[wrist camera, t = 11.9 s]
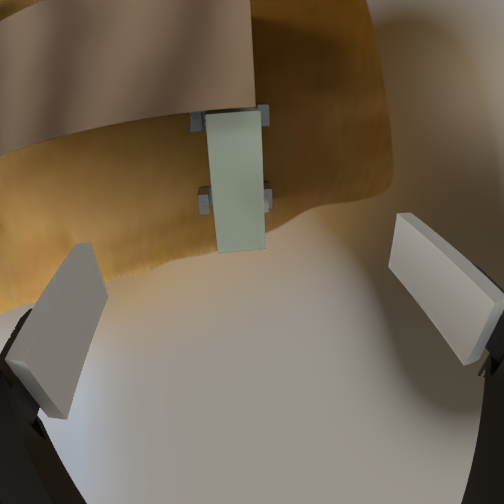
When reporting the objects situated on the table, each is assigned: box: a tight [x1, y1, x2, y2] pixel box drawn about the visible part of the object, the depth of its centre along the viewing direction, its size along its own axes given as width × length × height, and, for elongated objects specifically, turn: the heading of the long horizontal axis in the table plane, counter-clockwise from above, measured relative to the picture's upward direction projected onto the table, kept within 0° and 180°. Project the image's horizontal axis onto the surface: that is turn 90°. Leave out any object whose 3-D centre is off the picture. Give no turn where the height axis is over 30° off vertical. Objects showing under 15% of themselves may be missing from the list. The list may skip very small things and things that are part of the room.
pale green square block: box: [205, 107, 269, 253], centre depth 26 cm, size 4×10×10 cm, turn 3°
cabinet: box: [0, 0, 256, 155], centre depth 19 cm, size 22×9×14 cm, turn 93°
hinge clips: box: [189, 103, 273, 215], centre depth 29 cm, size 7×10×2 cm
